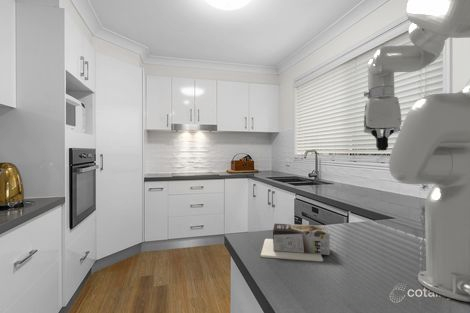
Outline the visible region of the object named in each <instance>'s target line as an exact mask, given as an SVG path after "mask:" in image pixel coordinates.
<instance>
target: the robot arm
mask: <svg viewBox="0 0 470 313" xmlns="http://www.w3.org/2000/svg"><path fill="white" fill-rule="evenodd" d="M406 16H407V19H408V20H409V22H410V23H411V24H410V25H409V28H408V38H409V40H410V42H411V43H412V44H411V45H409V44H408V45H405V44H404V45H386V46H381V47H380V48H378V49H377V51H376V52H375V53H374V55H373V57H372V58H371V59H370V60H369V61H368V64H367V86H368V87H367V88H368V89H367V91H366V92H365V91H364V93H363V97H367V99H366V101H365V106H364V113H363V114H364V115H363V126H364V129H363V133H366V134H371V135H372V136H373V137H374V139H375V140H376V141H375V142H376V148H377V151H387V150H388V147H389V138H390V136H392V134H394V133H398V135H397V137H396V140H395V141H394V145H393V147H392V150H391V153H390V157H389V161H388V166H389V167H388V168H389V172H390V174H391V176H392V178H393V179H394V180H396V181H397V182H399V183H402V184H405V185H433V187H432V188H431V189H430V191H429V192H428V194H427V197H426V199H425V203H424V225H425V226H424V229H425V230H424V231H425V262H426V263H425V266H426V267H425V270H422V271H419V273H418V275H417V280H418V282H419V283H420V285H422V286H423V287H424V288H426V289H428V290H429V291H431V292H434V293H436V294H438V295H441V296H444V297H447V298H450V299H452V300H458V301H462V302H467V303H470V78H469V79H468V81H467V83H466V85H465V86H464V87H463V88H462V90H460V91H458V92H448V93H447V92H445V93H443V92H442V93H433V94H432V93H431V94H428V95H425V96H423V97H421V98H419V99H418V100H417V101H415V102H414V104H412V106H411V107H410V109H409V110H408V111H407V114H406V116H405V118H404V121H403V122H402V113H401V112H402V111H401V105H400V102H399V98H398V96H396V95H395V73H413V72H418V71H420V70H422V69H424V68H426V67H428V66H429V65H431V64H432V63H434V62H436V60H437V59H439V57H440V55H441V54H442V52H443V50H444V47H445V44H446V40H448V39H450V38H453V39H454V38H455V39H462V38H463V39H464V38H467V39H468V38H470V0H408V2H407V5H406ZM381 130H382V131H381Z"/></svg>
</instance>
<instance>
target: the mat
mask: <svg viewBox="0 0 470 313" xmlns="http://www.w3.org/2000/svg"><path fill="white" fill-rule="evenodd" d="M260 258H268V259H269V258H270V259H283V260H294V261H295V260H298V261H308V262H309V261H311V262H324V258H323V256H322V254H311V253H297V252H284V251H273V238H265V239H264V242H263V245H262V248H261V253H260Z"/></svg>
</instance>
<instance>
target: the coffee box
mask: <svg viewBox="0 0 470 313" xmlns="http://www.w3.org/2000/svg"><path fill="white" fill-rule="evenodd" d="M272 229H273V230H272V239H273V251H284V252H297V253H311V254H321V255H326V256H329V255H330V253H331V252H330V246H331V244H330V241H331V240H330V239H331V238H330V236H331V235H330V232H329V230H328V229H327V227H326V226H325V225H316V224H315V225H314V224H293V223H291V224H290V223H274V225H273V228H272Z"/></svg>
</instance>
